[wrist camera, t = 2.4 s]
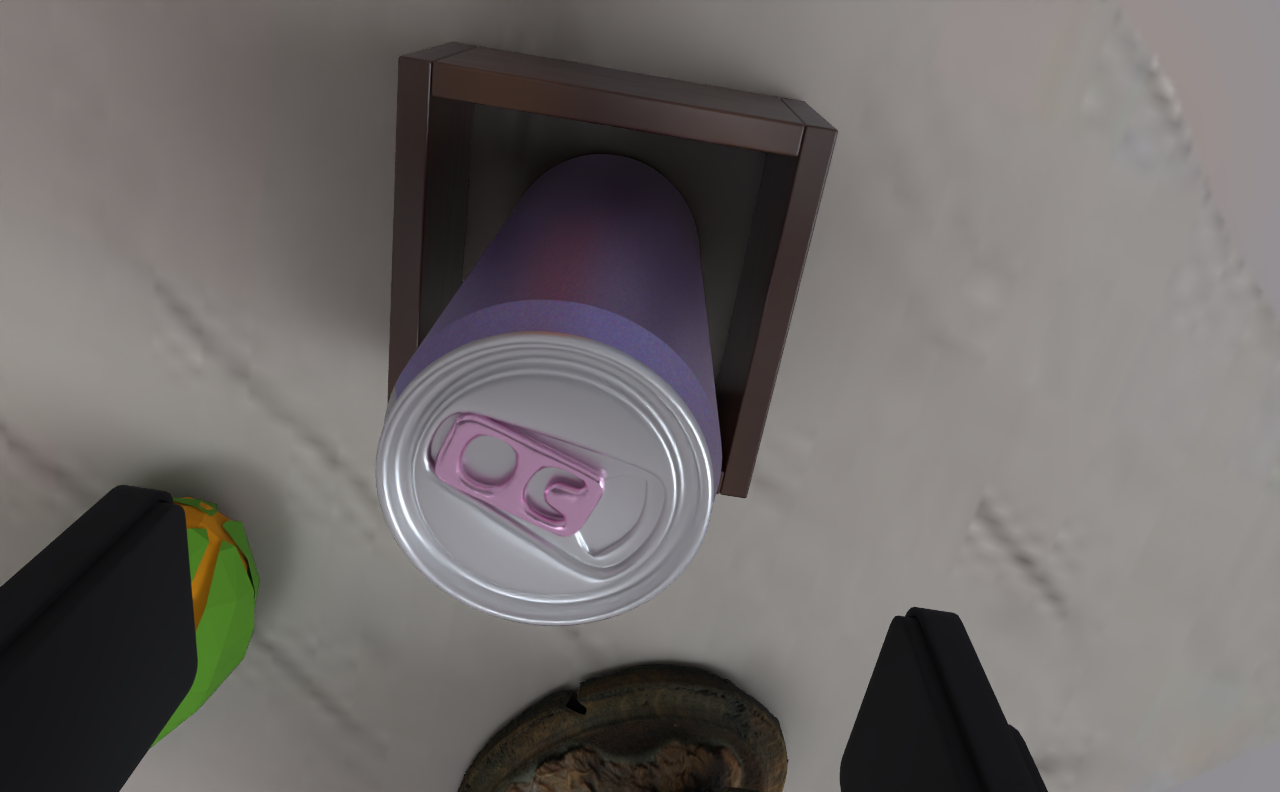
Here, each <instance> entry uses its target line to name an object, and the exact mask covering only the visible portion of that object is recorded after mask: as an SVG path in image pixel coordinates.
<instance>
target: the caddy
mask: <svg viewBox="0 0 1280 792" xmlns="http://www.w3.org/2000/svg"><path fill="white" fill-rule="evenodd" d="M474 103H475V104H481V105H487V106H493V107H499V108H505V109H511V110H517V111H523V112H529V113H535V114H541V115H547V116H553V117H559V118H565V119H571V120H577V121H583V122H589V123H595V124H600V125H606V126H612V127H618V128H624V129H630V130H636V131H642V132H648V133H654V134H660V135H666V136H672V137H678V138H684V139H690V140H696V141H702V142H708V143H714V144H720V145H726V146H732V147H738V148H744V149H750V150H756V151H762V152H768V154H767V159H766V163H765V168H764V172H763V177H762V182H761V186H760V191H759V195H758V200H757V205H756V209H755V214H754V218H753V223H752V228H751V232H750V237H749V241H748V246H747V251H746V255H745V260H744V264H743V269H742V273H741V278H740V283H739V287H738V292H737V296H736V301H735V306H734V310H733V315H732V319H731V324H730V329H729V333H728V338H727V342H726V347H725V352H724V356H723V361H722V365H721V370H720V375H719V379H718V384H717V388H716V401H717V410H718V419H719V428H720V437H721V446H722V466H721V475H720V481H719V485H718V490H717V493H716V494H719V493H720V494H722V495H727V496H734V497H740V498H746V497H747V494H748V490H749V486H750V482H751V478H752V474H753V470H754V466H755V462H756V458H757V454H758V450H759V446H760V442H761V438H762V434H763V430H764V426H765V422H766V418H767V414H768V410H769V406H770V402H771V398H772V394H773V390H774V386H775V382H776V378H777V374H778V370H779V366H780V362H781V358H782V354H783V350H784V346H785V342H786V338H787V334H788V330H789V326H790V322H791V318H792V314H793V310H794V306H795V302H796V298H797V294H798V290H799V286H800V282H801V278H802V274H803V270H804V266H805V262H806V258H807V254H808V250H809V246H810V242H811V238H812V234H813V230H814V226H815V222H816V218H817V214H818V210H819V206H820V202H821V198H822V194H823V190H824V186H825V182H826V178H827V174H828V170H829V166H830V162H831V158H832V154H833V150H834V146H835V142H836V138H837V134H838V130H837V129H835V128H834V127H833V126H832V125H831V124H830V123H829V122H827V121H826V120H825V119H824V118H823V117H822V116H820V115H819V114H818V113H817V112H816V111H815V110H814V109H812V108H811V107H810V106H809V105H808V104H807V103H805V102H804V101H798V100H792V99H786V98H780V99H779V98H778V97H774V96H768V95H763V94H757V93H751V92H745V91H739V90H733V89H727V88H721V87H716V86H710V85H704V84H698V83H692V82H686V81H680V80H674V79H669V78H663V77H657V76H651V75H645V74H639V73H633V72H628V71H622V70H616V69H610V68H604V67H598V66H592V65H586V64H581V63H575V62H569V61H563V60H557V59H551V58H545V57H539V56H534V55H528V54H522V53H516V52H510V51H504V50H498V49H493V48H487V47H481V46H480V47H477V46H475V45H469V44H463V43H457V42H450V43H447V44H443V45H439V46H436V47H432V48H428V49H424V50H421V51H417V52H413V53H410V54H406V55H402V56H399V60H398V91H397V123H396V154H395V186H394V218H393V249H392V281H391V312H390V344H389V376H388V402H389V399H390V396H391V393H392V391H393V388H394V386H395V384H396V382H397V380H398V378H399V376H400V374H401V372H402V371H403V369H404V368H405V366H406V365H407V363H408V362H409V360H410V359H411V357H412V356H413V355H414V353H415V352H416V350H417V349H418V347H419V346H420V344H421V343H422V342H423V340H424V339H425V337H426V336H427V334H428V333H429V331H430V330H431V329H432V327H433V326H434V324H435V323H436V321H437V320H438V318H439V317H440V316H441V314H442V313H443V311H444V310H445V308H446V307H447V305H448V304H449V303H450V301H451V300H452V298H453V297H454V295H455V294H456V292H457V291H458V289H459V288H460V287H461V284H462V269H463V255H464V240H465V226H466V211H467V197H468V182H469V168H470V153H471V139H472V124H473V110H474Z"/></svg>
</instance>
